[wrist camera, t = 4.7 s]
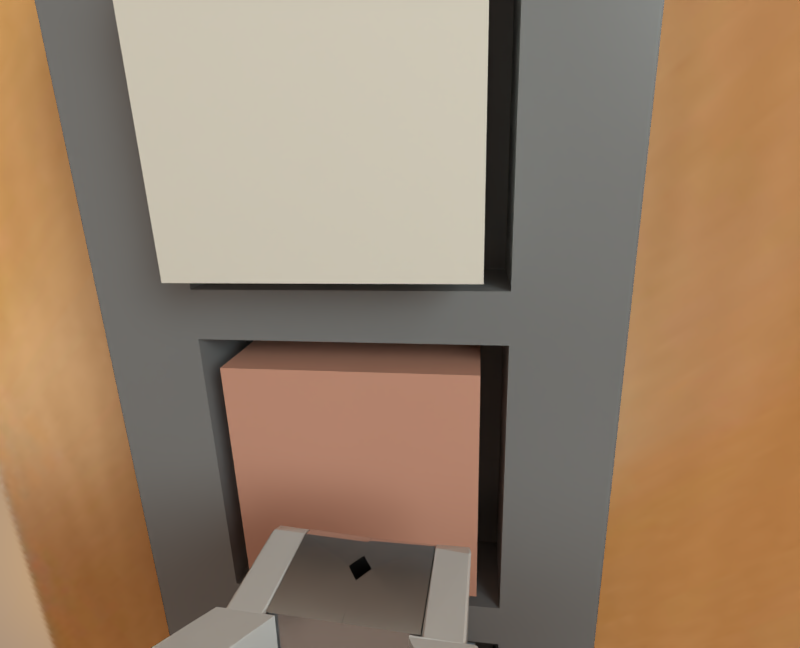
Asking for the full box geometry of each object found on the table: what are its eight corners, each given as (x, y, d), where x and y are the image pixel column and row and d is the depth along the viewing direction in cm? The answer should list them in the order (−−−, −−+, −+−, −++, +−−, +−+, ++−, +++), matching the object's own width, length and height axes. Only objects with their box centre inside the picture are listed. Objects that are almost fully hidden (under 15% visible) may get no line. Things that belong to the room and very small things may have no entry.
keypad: (539, 843, 19) (553, 1013, 15) (281, 802, 20) (236, 947, 17) (613, -95, 10) (690, -243, 7) (155, -49, 12) (3, -148, 8)
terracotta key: (476, 531, 13) (476, 596, 11) (282, 516, 13) (250, 575, 11) (480, 339, 11) (480, 375, 9) (261, 335, 12) (219, 367, 10)
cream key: (482, 258, 9) (483, 284, 7) (221, 259, 10) (161, 282, 8) (488, -70, 8) (491, -146, 6) (181, -41, 8) (95, -98, 7)
